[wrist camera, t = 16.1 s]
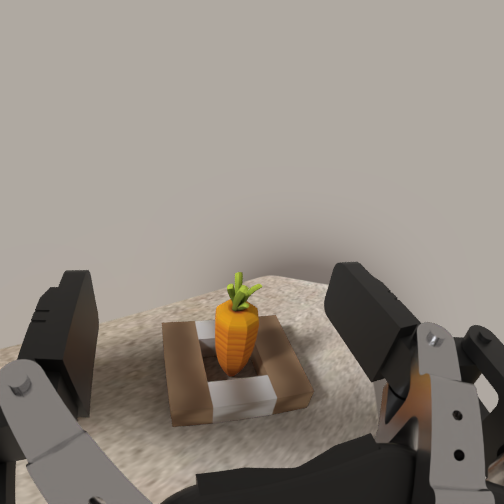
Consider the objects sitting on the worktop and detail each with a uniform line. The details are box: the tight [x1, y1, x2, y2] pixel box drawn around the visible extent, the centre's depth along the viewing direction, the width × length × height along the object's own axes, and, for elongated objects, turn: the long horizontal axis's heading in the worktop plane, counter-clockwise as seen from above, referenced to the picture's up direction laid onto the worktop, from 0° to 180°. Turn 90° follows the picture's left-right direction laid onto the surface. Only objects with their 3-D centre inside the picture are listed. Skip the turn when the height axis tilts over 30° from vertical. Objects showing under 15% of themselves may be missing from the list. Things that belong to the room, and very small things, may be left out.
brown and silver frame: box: [162, 315, 314, 427], centre depth 37 cm, size 16×14×4 cm
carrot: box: [215, 272, 262, 377], centre depth 34 cm, size 5×5×15 cm
